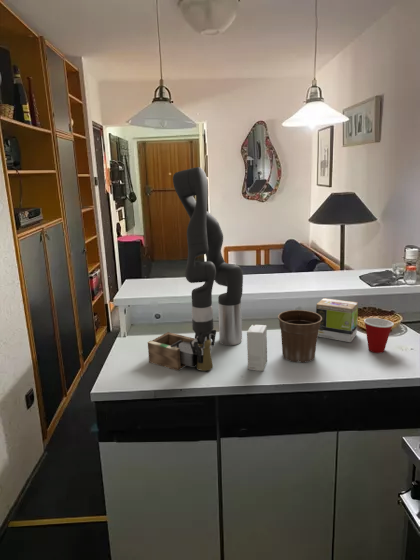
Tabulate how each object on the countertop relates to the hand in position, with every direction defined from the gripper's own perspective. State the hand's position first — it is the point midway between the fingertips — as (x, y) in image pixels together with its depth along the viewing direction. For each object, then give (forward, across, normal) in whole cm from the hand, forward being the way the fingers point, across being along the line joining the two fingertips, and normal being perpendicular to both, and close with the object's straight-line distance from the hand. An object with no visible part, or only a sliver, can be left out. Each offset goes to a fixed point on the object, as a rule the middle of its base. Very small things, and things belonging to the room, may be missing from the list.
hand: (204, 360), depth 156 cm
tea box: (+4, -52, +32) cm, 62 cm away
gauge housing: (+3, 0, -14) cm, 15 cm away
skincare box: (+3, -12, +16) cm, 20 cm away
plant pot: (+4, -27, +26) cm, 37 cm away
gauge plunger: (+1, +1, -7) cm, 7 cm away
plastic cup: (+4, -46, +50) cm, 68 cm away
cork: (+2, 0, 0) cm, 2 cm away
